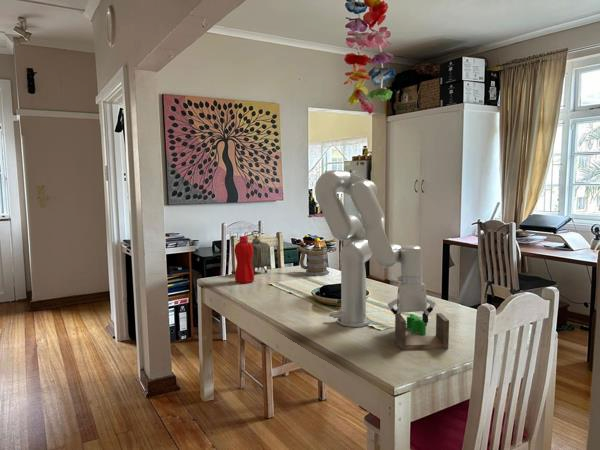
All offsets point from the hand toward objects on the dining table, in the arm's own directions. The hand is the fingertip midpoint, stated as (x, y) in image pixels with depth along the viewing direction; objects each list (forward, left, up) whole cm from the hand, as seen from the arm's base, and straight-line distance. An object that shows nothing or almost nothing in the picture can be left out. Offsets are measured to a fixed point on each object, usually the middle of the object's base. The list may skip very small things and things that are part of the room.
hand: (411, 325), depth 164 cm
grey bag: (-65, +103, -2) cm, 122 cm away
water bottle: (-69, +79, -2) cm, 105 cm away
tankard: (-32, +100, -2) cm, 105 cm away
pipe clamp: (+1, +1, -2) cm, 3 cm away
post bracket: (-1, -14, -2) cm, 14 cm away
